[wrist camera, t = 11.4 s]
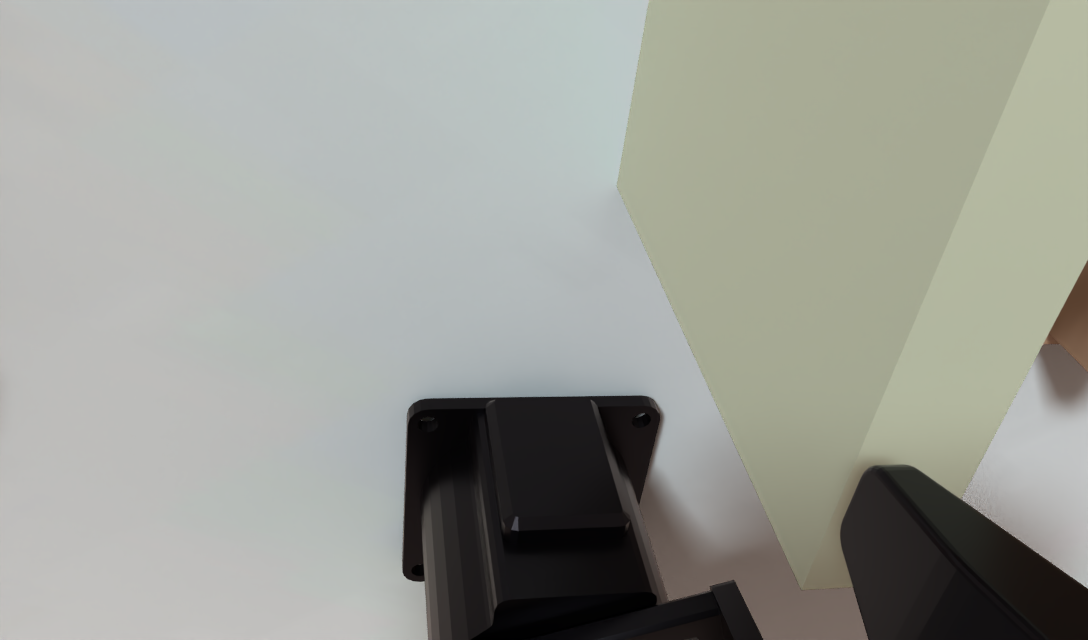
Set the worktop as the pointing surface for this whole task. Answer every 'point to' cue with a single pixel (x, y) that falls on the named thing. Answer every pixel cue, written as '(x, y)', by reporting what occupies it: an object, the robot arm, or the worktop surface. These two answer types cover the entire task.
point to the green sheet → (860, 228)
